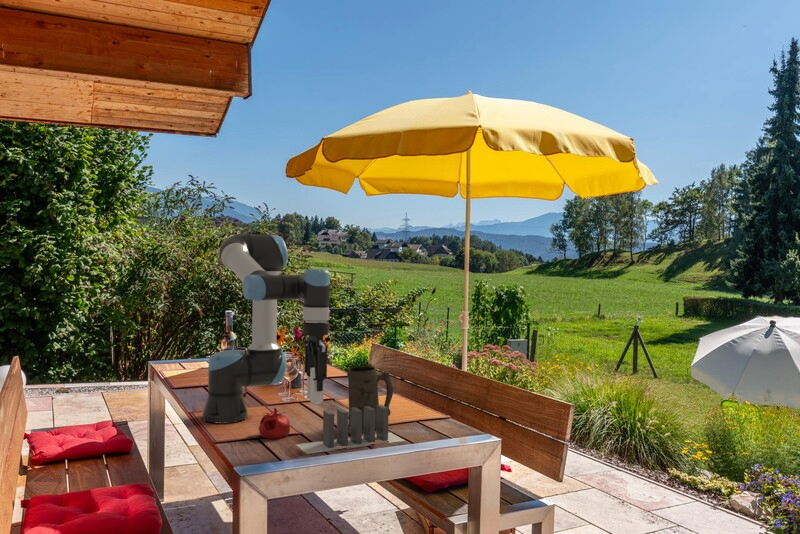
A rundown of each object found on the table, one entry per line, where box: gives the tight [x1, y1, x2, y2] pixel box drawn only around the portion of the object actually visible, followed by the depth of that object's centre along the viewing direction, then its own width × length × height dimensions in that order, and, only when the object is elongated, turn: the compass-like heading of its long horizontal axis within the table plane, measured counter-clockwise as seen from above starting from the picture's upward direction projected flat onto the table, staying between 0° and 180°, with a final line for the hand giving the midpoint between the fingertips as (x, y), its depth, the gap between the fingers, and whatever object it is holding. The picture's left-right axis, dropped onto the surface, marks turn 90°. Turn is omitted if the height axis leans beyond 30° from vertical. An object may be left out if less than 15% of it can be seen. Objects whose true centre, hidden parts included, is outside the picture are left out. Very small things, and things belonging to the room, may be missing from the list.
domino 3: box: [336, 408, 349, 446], centre depth 189 cm, size 2×5×10 cm, turn 28°
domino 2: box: [322, 409, 335, 448], centre depth 186 cm, size 2×5×10 cm, turn 28°
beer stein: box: [346, 366, 394, 432], centre depth 209 cm, size 15×11×20 cm
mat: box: [295, 432, 406, 455], centre depth 190 cm, size 32×10×1 cm, turn 118°
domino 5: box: [362, 406, 376, 443], centre depth 193 cm, size 2×5×10 cm, turn 28°
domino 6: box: [375, 404, 390, 441], centre depth 195 cm, size 2×5×10 cm, turn 28°
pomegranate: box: [258, 407, 291, 440], centre depth 196 cm, size 10×10×9 cm
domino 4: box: [349, 407, 363, 444], centre depth 191 cm, size 2×5×10 cm, turn 28°
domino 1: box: [309, 367, 322, 405], centre depth 184 cm, size 2×5×10 cm, turn 28°
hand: (315, 399), depth 184 cm, fingers closed on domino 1, 5 cm apart
